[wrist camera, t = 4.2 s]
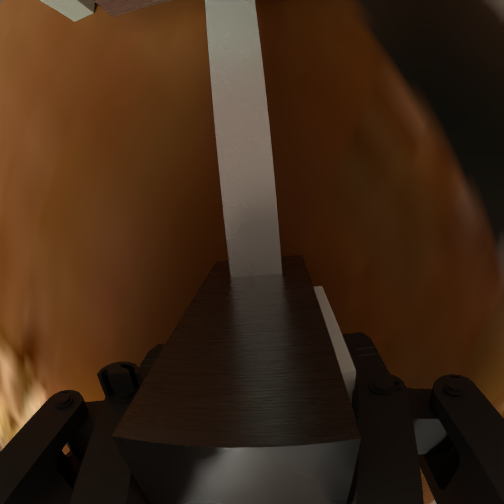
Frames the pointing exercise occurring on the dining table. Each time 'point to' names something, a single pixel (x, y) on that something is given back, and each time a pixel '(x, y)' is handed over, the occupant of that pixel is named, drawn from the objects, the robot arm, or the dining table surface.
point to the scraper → (243, 331)
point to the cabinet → (72, 7)
